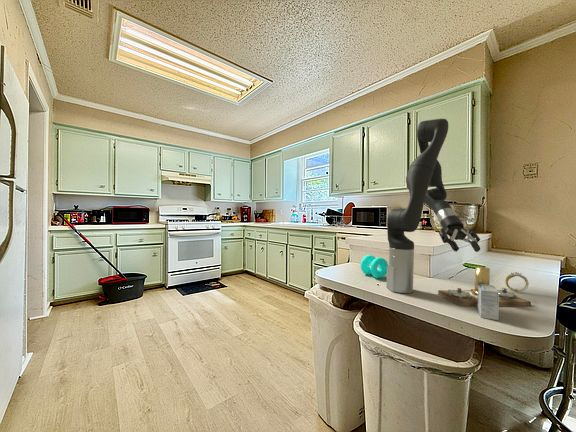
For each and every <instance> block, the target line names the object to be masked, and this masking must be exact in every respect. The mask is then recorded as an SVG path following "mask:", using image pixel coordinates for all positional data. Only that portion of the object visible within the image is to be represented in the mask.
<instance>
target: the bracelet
mask: <svg viewBox="0 0 576 432" xmlns="http://www.w3.org/2000/svg"><path fill="white" fill-rule="evenodd" d="M522 274H523V273H522V272H520V273H519V272H518V271H514V272H513V271H512V272H511V273H509V274H507V276H506V277H505V280H504V281H505V284H506V285H505V286H506V287H508V289H509V290H511V291H512V292H514V293H515V292H516V293H519V292H524V291H526V290H527V289H528V287H529V285H530V284H529V280H528V278H527V276H524V275H522ZM515 277H519V278H521V279H523V281H524V283H525V285H524V287H523V288H520V289H517V288H513V287H511V286H510V284H509V280H510V279H512V278H515Z"/></svg>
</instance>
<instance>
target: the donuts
mask: <svg viewBox="0 0 576 432" xmlns="http://www.w3.org/2000/svg"><path fill="white" fill-rule="evenodd" d="M387 265H389V262H388V261H387V260H386V259H385V258H383V257H375V256H374V255H372V254H367V255H365V256H363V257H362V259H361V260H360V270H361V272H362V273H364V274H365V275H367V276H368V275H369V276H370V274H371V275H372V276H373V277H374V278H376V279H382V278H384V277H385V276H387Z"/></svg>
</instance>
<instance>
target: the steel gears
mask: <svg viewBox="0 0 576 432" xmlns="http://www.w3.org/2000/svg"><path fill="white" fill-rule="evenodd" d="M461 290H462V288H460V287H458V288H457V289H448V293H449V296H454V297H458V298H459V299H462V298H468V299H471V295H470V293H469V292H464V291H461ZM497 291H498V292H499V297H503V298H506V299H509V298H515V299H517V297H519V295H518V294H516V293H515V291H507V288H505V287H504V288H503V287H502V288H501V289H497Z"/></svg>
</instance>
